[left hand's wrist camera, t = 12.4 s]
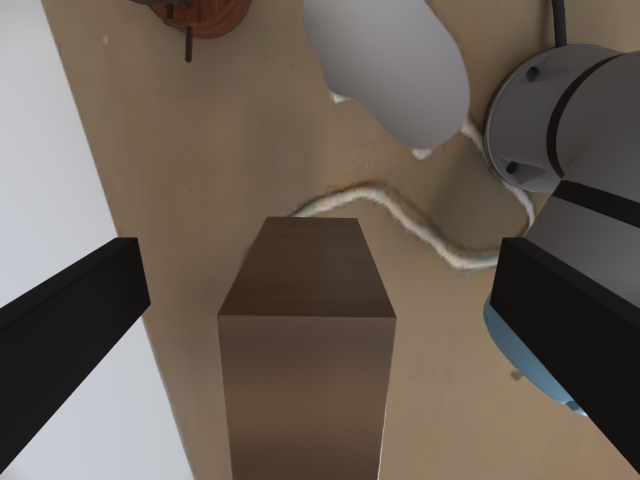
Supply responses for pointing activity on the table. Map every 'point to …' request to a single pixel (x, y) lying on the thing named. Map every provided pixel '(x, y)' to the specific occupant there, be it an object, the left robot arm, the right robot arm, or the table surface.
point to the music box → (199, 17)
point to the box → (307, 354)
